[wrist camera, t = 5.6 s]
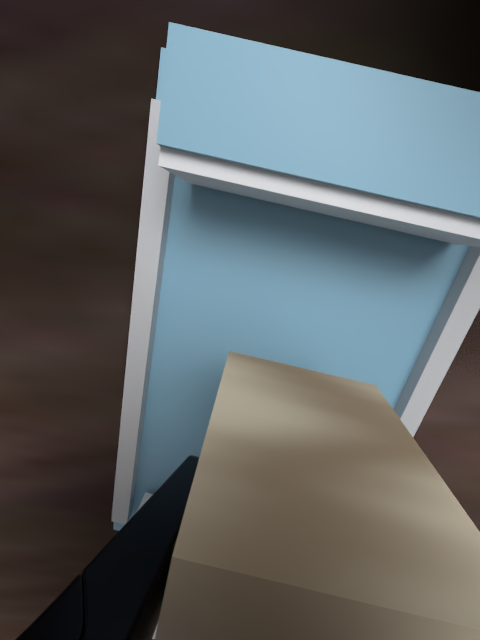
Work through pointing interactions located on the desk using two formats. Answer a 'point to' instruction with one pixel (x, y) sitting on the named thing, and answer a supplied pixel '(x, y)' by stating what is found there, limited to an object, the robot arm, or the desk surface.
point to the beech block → (317, 520)
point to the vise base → (293, 237)
